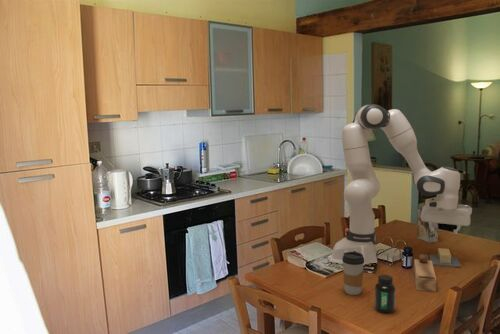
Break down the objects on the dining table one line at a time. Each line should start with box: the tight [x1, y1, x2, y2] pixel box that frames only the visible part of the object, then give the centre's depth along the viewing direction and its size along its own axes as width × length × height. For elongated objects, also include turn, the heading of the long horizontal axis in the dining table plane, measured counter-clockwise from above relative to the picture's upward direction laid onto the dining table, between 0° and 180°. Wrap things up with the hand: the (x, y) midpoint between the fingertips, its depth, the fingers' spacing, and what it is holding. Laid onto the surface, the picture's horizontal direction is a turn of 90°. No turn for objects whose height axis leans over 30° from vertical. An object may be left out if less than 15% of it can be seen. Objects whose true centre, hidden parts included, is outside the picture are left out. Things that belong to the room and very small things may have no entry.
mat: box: [428, 253, 462, 269], centre depth 193 cm, size 12×12×1 cm
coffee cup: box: [342, 252, 364, 296], centre depth 164 cm, size 8×8×15 cm
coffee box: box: [416, 207, 439, 244], centre depth 221 cm, size 9×6×16 cm
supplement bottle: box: [374, 274, 396, 314], centre depth 150 cm, size 7×7×12 cm
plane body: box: [413, 253, 437, 293], centre depth 173 cm, size 7×20×8 cm, turn 162°
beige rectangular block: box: [437, 247, 452, 264], centre depth 192 cm, size 4×9×4 cm, turn 162°
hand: (443, 232), depth 191 cm, fingers open, 8 cm apart
